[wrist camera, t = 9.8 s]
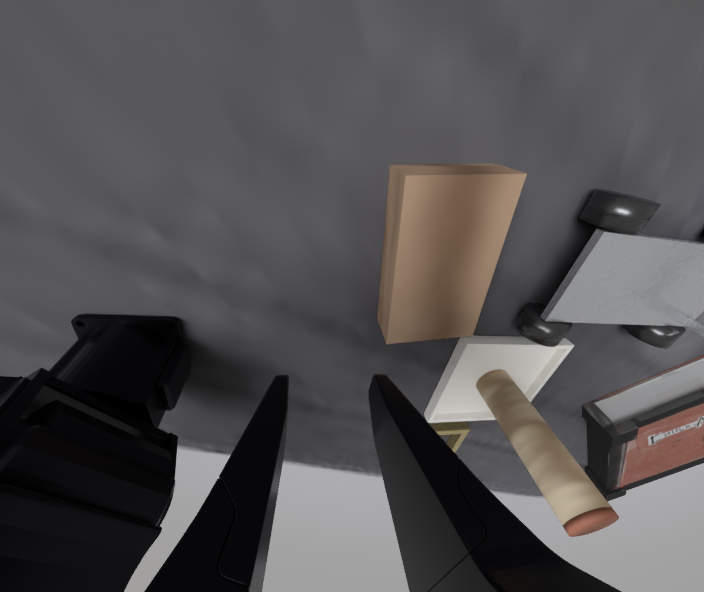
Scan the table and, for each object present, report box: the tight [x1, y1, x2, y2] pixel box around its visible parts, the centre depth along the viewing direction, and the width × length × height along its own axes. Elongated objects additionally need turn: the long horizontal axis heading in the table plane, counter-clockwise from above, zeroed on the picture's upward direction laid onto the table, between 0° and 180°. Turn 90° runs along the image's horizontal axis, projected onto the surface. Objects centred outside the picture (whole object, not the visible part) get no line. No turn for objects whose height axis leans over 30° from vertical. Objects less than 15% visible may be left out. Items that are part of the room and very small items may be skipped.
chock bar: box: [377, 164, 527, 344], centre depth 20 cm, size 7×12×4 cm, turn 178°
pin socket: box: [429, 421, 470, 452], centre depth 36 cm, size 6×6×1 cm
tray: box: [424, 335, 574, 423], centre depth 31 cm, size 12×12×1 cm
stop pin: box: [476, 369, 619, 537], centre depth 26 cm, size 4×4×13 cm
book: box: [582, 355, 704, 501], centre depth 42 cm, size 26×18×5 cm
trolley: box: [516, 189, 704, 348], centre depth 22 cm, size 17×12×8 cm
